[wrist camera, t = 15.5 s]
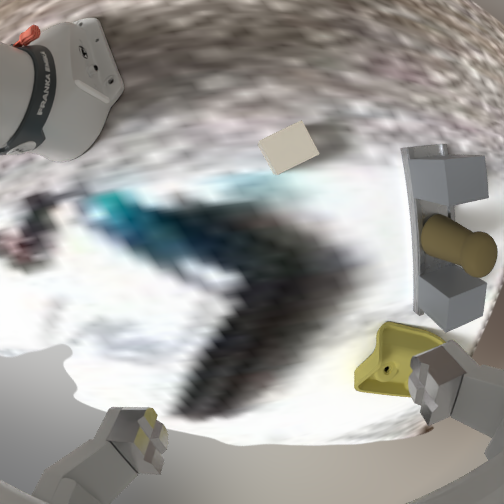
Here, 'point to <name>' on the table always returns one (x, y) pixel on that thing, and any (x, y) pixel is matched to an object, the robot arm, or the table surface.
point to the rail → (423, 217)
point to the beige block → (288, 148)
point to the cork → (459, 245)
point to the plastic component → (393, 359)
